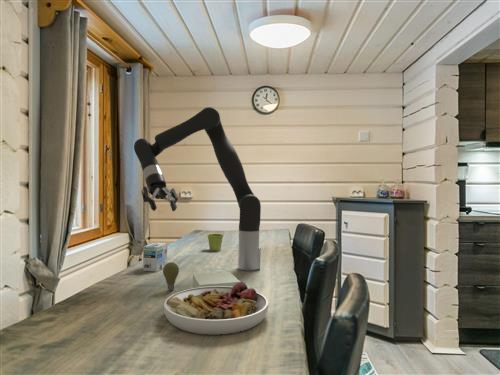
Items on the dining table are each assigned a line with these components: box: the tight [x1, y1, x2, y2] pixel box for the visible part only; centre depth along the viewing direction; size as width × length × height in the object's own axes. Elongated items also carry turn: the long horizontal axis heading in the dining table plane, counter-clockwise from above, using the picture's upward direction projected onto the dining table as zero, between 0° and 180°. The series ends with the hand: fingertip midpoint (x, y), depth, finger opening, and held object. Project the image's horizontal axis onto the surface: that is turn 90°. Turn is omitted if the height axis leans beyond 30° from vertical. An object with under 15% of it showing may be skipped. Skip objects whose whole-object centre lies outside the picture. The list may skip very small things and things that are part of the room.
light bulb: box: [162, 262, 180, 292], centre depth 132 cm, size 6×6×10 cm
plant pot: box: [206, 233, 224, 252], centre depth 208 cm, size 9×9×9 cm
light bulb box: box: [142, 242, 168, 273], centre depth 163 cm, size 11×7×11 cm, turn 168°
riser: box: [192, 271, 241, 288], centre depth 131 cm, size 14×14×5 cm
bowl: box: [163, 281, 269, 336], centre depth 108 cm, size 30×30×8 cm
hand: (164, 209), depth 145 cm, fingers open, 8 cm apart
